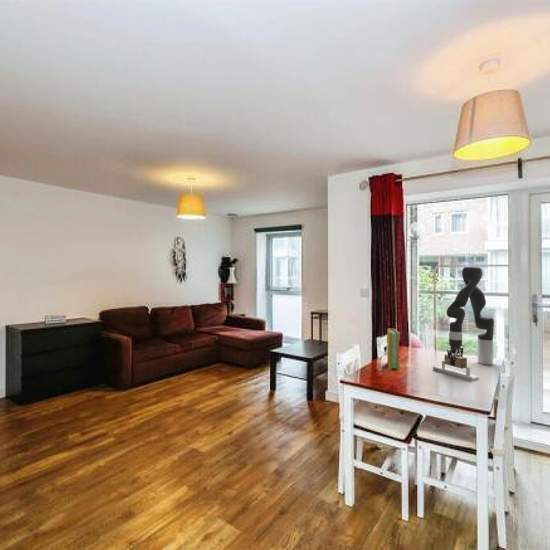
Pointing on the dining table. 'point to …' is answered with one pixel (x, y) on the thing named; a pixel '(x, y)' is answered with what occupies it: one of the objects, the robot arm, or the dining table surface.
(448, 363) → the frame
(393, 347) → the book
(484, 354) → the robot arm
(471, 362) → the dining table surface
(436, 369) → the board
